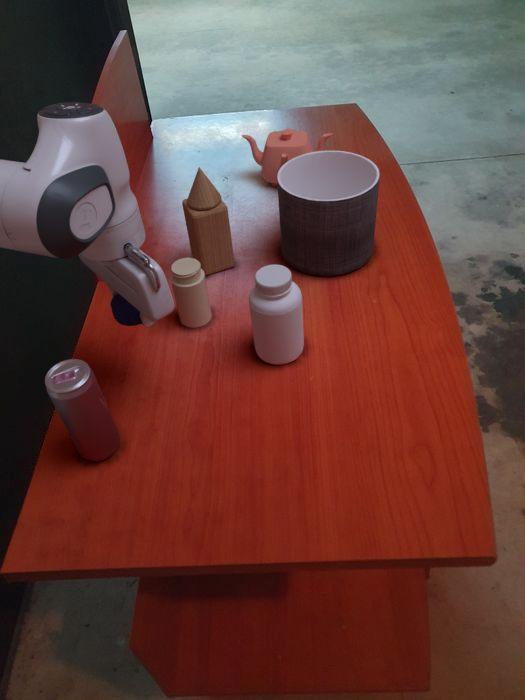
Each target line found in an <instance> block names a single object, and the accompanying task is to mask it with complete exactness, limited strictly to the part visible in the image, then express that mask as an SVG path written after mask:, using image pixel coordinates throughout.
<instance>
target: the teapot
mask: <svg viewBox="0 0 525 700" xmlns="http://www.w3.org/2000/svg"><path fill="white" fill-rule="evenodd" d="M333 135H334V132H328V133H323V134H322V135H321V136H320V138H319V140H318V143H317V147H316V149H315V150H314V149H313V145H312V142H311V139H310V135H309V133H308V132H307V131H305V130H293V129H292V128H291V127H290V128H289V127H288V128H286V129H283V130H277V131H271V132H269V133H268V134H267V137H266V140H265V143H264V148H263V151H262V150H260V149H259V147H258V145H257V142H256V140H255V138H254V137H253V136H252V135H248V134H241V137H242V138H243V139H244V140H246V141H247V142H248V144H249V146H250V150H251V154H252V157H253V160H254V161H255V163H257V165H259V166H260V167H261V175H262V177H263V179H264V180H265V182H267V183H269V184H271V186H272V187H278V185H277V174H278V171H279V169H280V168H281V167H282V166H283V165H284V164H285V163H286V162H288V161H289V160H291V159H293V158H295V157H297V156H300V155H303V154H307V153H311V152H317V151H325V150H324V149H325V144H326V141H327V140H328V139H329V138H330V137H331V136H333Z"/></svg>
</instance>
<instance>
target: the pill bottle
mask: <svg viewBox="0 0 525 700" xmlns="http://www.w3.org/2000/svg"><path fill="white" fill-rule="evenodd" d="M254 284H255V285H253V287H251V290H250V292H249V295H248V305H249V313H250V320H251V326H252V327H251V329H252V336H253V343H254V349H255V352H256V354H257V356H258V357H259V358H260V359H261V360H262V361H263V362H265V363H268V364H271V365H276V366H277V365H278V366H279V365H286V364H290V363H292V362H294V361H295V360H297V359H298V358H300V356H301V355H302V353H303V351H304V347H305V336H304V335H305V334H304V317H303V316H304V313H303V312H304V311H303V296H302V295H303V294H302V291H301V289H300V287H299V286H298V284H297V283H296V282H294V281H293V276H292V271H291V270H290V269H289V268H288V267H286V266H284V265H281V264H268V265H264V266H262V267H260V268H259V269H258V270H257V271H256V273H255V275H254Z"/></svg>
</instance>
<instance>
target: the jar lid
mask: <svg viewBox="0 0 525 700" xmlns="http://www.w3.org/2000/svg"><path fill="white" fill-rule="evenodd" d="M109 305H110V308H111V313H112V316H113V318H114V320H115V321H116V322H117V323H118V324H119V325H121V326H125V327H136V326H140V325H142V324H141V323H140V322H139V318H138V316H137V314H139V313H140V311H139V310H137V309H136V308H135V307H134V306H133V305H132V304H130V303H129V302H128V301H127V300H126V299H125V298H123V297H122V296H121V295H120V294H119V293H117V294H116V295H115V296H114V297H112V298H111V300H110V304H109Z"/></svg>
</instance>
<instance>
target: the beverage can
mask: <svg viewBox="0 0 525 700" xmlns="http://www.w3.org/2000/svg"><path fill="white" fill-rule="evenodd" d="M44 384H45V389H46V393H47V394H48V396H49V398H50V400H51V402H52V403H53V406H54V407H55V409H56V411H57V413H58V415H59V417H60V419H61V421H62V423H63V425H64V426H65V428H66V431H67V433H68V435H69V436H70V438H71V440H72V442H73V444H74V446H75V448H76V449H77V452H78V453H79V455H80V456H81V457H82V458H83V459H85V460H88V461H92V462H99V461H103V460H106V459H108V458H111V456H112V455H114V454H115V453H116V452H117V450H118V448H119V446H120V443H121V434H120V432H119V429H118V428H117V425H116V423H115V420H114V418H113V416H112V413H111V410H110V408H109V405H108V404H107V402H106V399H105V396H104V394H103V392H102V389H101V387H100V384H99V382H98V380H97V378H96V375H95V373H94V370H93V368H91V367H90V365H89V363H87V362H86V361H85V360H82V359H80V358H79V359H78V358H69V359H65V360H62V361H60V362H58V363H56V364H55V365H53V366H52V367H51V368H50V369H49V370H48V371H47V372H46V374H45V377H44Z"/></svg>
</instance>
